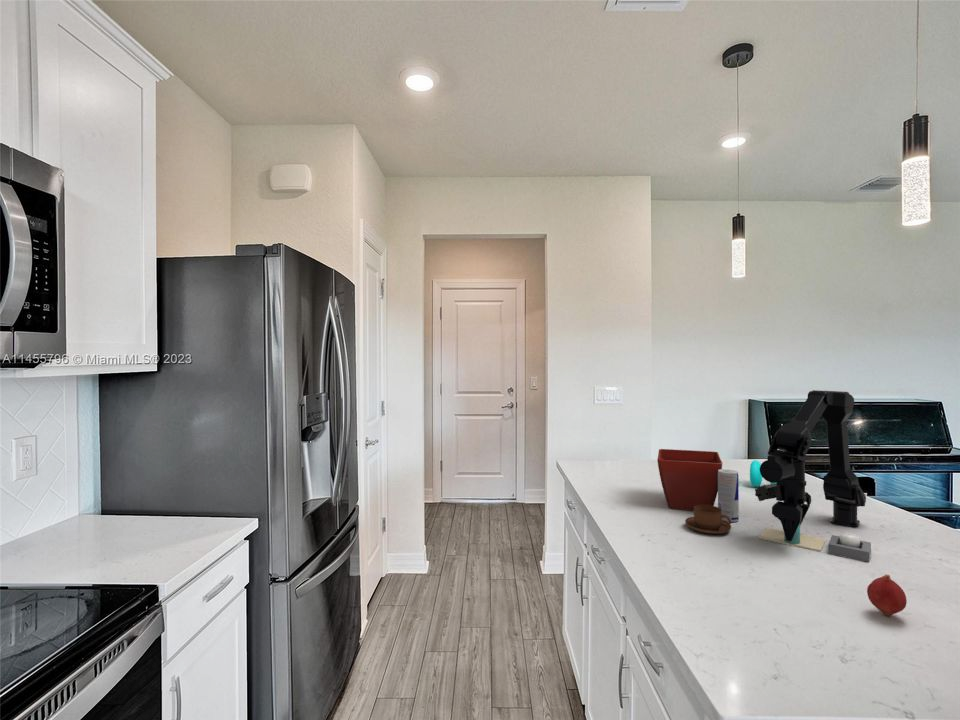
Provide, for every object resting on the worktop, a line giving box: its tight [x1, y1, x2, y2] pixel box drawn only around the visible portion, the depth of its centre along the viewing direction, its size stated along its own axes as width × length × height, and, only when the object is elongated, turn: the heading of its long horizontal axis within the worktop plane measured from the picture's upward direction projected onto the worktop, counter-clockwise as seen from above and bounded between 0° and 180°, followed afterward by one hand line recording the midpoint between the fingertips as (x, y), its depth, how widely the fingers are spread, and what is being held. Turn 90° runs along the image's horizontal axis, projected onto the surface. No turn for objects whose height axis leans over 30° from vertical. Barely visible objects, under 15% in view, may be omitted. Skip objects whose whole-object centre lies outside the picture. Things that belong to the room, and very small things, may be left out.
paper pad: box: [758, 526, 827, 553], centre depth 131 cm, size 10×14×1 cm
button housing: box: [827, 534, 872, 563], centre depth 122 cm, size 8×8×2 cm
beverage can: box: [717, 468, 740, 523], centre depth 147 cm, size 6×6×15 cm
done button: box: [839, 532, 861, 548], centre depth 122 cm, size 4×4×3 cm
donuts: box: [749, 460, 777, 488], centre depth 182 cm, size 10×10×10 cm
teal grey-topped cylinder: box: [784, 524, 801, 544], centre depth 129 cm, size 4×4×6 cm
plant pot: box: [657, 448, 723, 512], centre depth 162 cm, size 19×19×17 cm
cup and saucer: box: [684, 505, 732, 535], centre depth 139 cm, size 12×12×6 cm
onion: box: [866, 573, 907, 617], centre depth 93 cm, size 6×6×8 cm
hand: (792, 535), depth 128 cm, fingers open, 9 cm apart
